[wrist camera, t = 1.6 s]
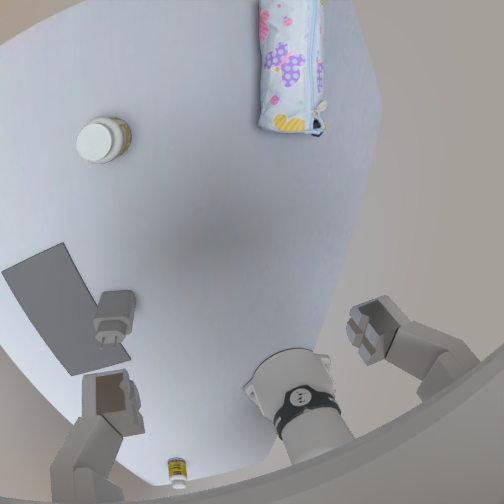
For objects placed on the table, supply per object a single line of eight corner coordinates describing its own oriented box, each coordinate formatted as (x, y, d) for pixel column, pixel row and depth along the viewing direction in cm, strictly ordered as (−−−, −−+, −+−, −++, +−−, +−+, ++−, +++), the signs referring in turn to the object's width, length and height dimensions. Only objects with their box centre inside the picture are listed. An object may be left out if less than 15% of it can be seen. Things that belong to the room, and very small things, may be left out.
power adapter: (100, 292, 45) (85, 340, 35) (133, 289, 46) (124, 338, 36) (104, 308, 46) (91, 358, 36) (136, 306, 48) (130, 356, 37)
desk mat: (130, 358, 51) (130, 360, 51) (71, 374, 50) (71, 376, 50) (63, 242, 41) (62, 243, 40) (2, 271, 39) (1, 272, 39)
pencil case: (310, 134, 43) (341, 140, 35) (251, 134, 41) (270, 138, 33) (308, 4, 35) (337, -17, 26) (249, -3, 33) (268, -29, 24)
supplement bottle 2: (180, 455, 67) (183, 482, 60) (187, 462, 69) (191, 488, 62) (164, 459, 67) (167, 485, 59) (172, 466, 69) (175, 491, 62)
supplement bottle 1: (139, 134, 38) (129, 138, 29) (113, 165, 38) (96, 178, 30) (111, 109, 35) (92, 106, 27) (85, 140, 36) (61, 147, 27)
